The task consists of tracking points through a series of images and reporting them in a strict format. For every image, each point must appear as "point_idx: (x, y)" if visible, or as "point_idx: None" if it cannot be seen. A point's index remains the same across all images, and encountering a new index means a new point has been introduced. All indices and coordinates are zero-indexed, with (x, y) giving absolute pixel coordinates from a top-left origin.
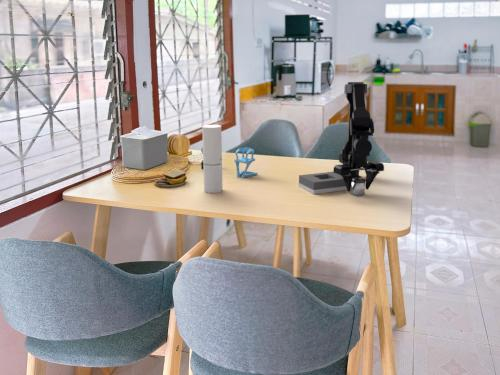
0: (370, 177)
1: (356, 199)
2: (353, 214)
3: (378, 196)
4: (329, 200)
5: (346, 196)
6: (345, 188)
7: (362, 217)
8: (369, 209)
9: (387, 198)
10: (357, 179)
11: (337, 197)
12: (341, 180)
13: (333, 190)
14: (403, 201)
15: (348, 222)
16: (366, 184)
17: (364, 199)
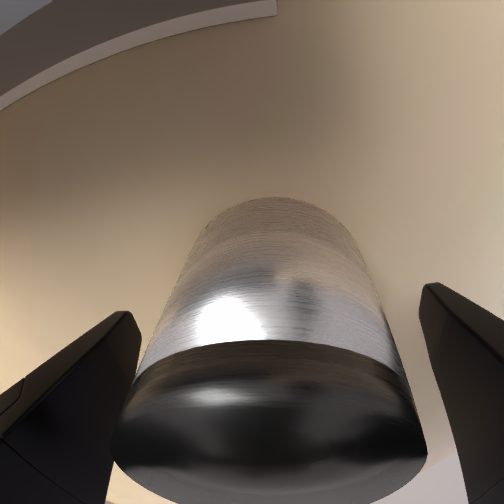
0: (480, 491)
1: None
2: (126, 483)
3: (424, 374)
4: (7, 341)
5: (120, 309)
6: (182, 27)
7: (154, 499)
8: None
9: (435, 412)
10: (226, 496)
11: (44, 307)
12: (5, 48)
13: (17, 95)
14: (452, 445)
15: None
16: (449, 341)
17: None
